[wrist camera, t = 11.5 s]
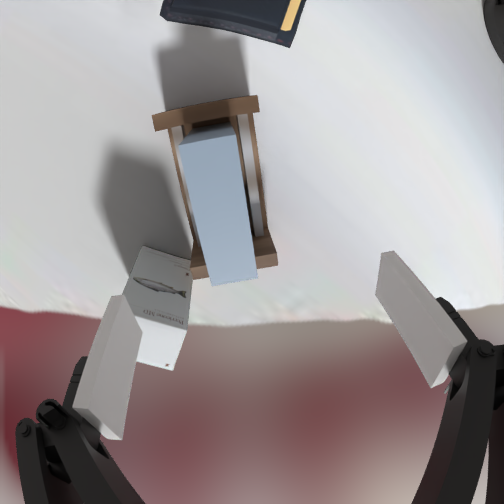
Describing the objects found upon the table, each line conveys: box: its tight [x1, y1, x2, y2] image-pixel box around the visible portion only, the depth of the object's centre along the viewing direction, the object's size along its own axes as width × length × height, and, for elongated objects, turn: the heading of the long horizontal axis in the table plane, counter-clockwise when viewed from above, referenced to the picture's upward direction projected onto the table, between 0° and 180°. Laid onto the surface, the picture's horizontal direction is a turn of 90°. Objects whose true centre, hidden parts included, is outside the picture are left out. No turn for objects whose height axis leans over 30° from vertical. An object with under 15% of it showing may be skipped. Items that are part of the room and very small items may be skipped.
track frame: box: [152, 95, 278, 280], centre depth 29 cm, size 17×9×7 cm, turn 8°
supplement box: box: [122, 246, 193, 370], centre depth 32 cm, size 7×7×13 cm
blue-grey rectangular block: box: [178, 122, 258, 286], centre depth 26 cm, size 12×4×11 cm, turn 8°
